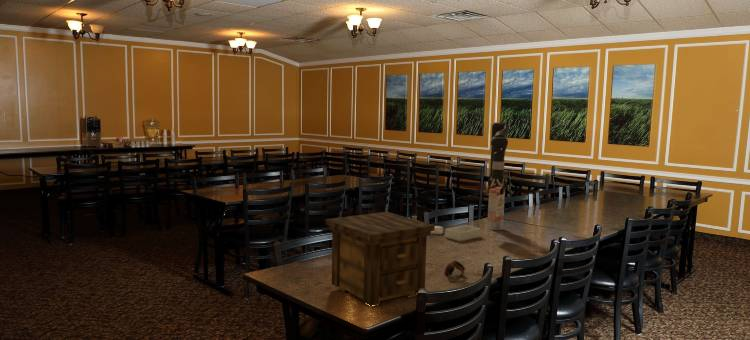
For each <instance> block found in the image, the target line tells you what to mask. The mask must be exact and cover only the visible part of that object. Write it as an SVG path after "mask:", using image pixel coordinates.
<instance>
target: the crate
mask: <svg viewBox="0 0 750 340" xmlns="http://www.w3.org/2000/svg"><path fill="white" fill-rule="evenodd" d="M324 223H325V224H324V225H326V226H328V230H329V231H332V233H331V235H332V237H331V238H332V239H331V240H332V242H331V285H332V286H334V287H336V288H338V290H339V289H340V290H342V291H344V292H345V291H348V292H349V293H350V294H352V295H354V296H355V297H357V298H359V299H361V300H362V301H363V302H364V304H365V303H367V304H369V305H370V306H372V305H377V304H380V305H381V302H383V301H386V300H391V299H394V298H395V299H396V298H398V297H399V298H400V297H402V296H405V295H407V296H409V297H410V296H414V295H416V293H417V289H419V288H424V289H425V290H426V270H427V269H426V268H427V267H426V265H427V243H428V242H427V241H428V240H427V237H429V236H431V235H432V233H431V231H434V228H435V226H436V225H435V224H432V223H431V224H430V223H427V222H423V221H420V220H416V219H414V218H410V217H407V216H402V215H400V214H396V213H393V212H388V211H383V212H374V213H373V212H372V213H367V214H365V213H364V214H358V215H349V216H340V217H332V218H325V222H324ZM340 290H339V291H340ZM342 291H341V292H342ZM344 292H343V293H344ZM348 292H347V293H348ZM345 293H346V292H345ZM417 294H418V293H417ZM407 296H406V297H407ZM409 297H408V298H409ZM414 297H415V296H414ZM410 298H411V297H410Z"/></svg>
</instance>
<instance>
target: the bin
mask: <svg viewBox="0 0 750 340" xmlns="http://www.w3.org/2000/svg"><path fill="white" fill-rule="evenodd" d="M444 235H445V236H444V238H446V239H449V240H451V241H455V242H464V241H469V240H475V239H479V238H481V237H482V236H481V235H482V228H480V227H476V226H472V225H467V224H465V225H460V226H455V227H454V226H453V227H449V228H445V233H444Z"/></svg>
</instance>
